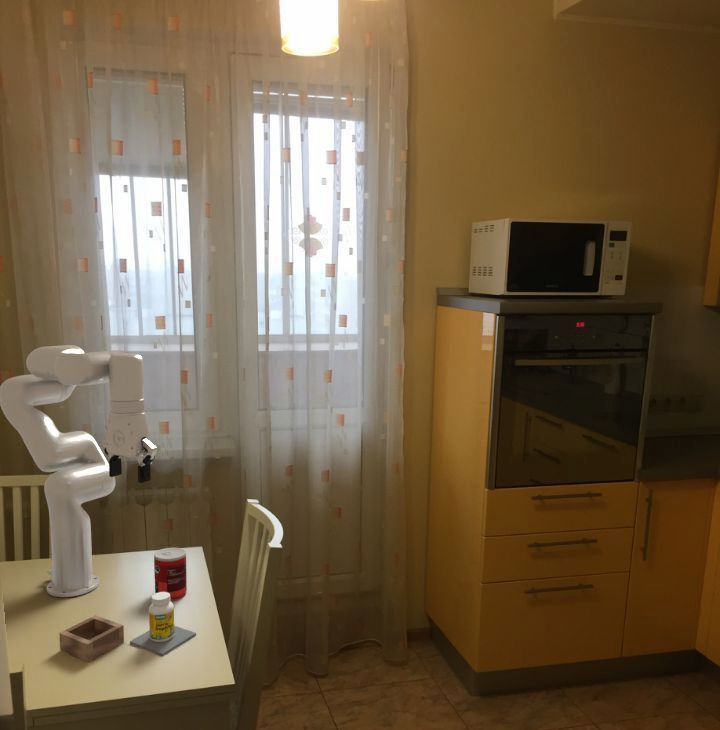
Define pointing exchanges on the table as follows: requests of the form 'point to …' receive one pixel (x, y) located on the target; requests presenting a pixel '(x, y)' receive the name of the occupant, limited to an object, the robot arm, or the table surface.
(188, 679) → the table surface
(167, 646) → the rubber mat
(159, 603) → the supplement bottle
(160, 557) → the canned food
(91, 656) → the sleeve holder
